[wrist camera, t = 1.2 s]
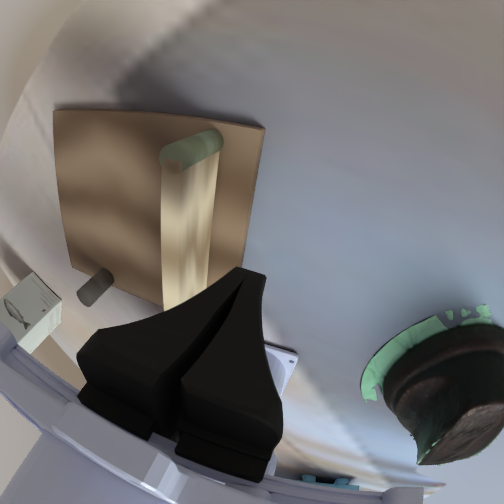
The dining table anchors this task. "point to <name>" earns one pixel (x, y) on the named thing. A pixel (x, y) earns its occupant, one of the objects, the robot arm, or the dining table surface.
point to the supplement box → (30, 312)
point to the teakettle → (337, 484)
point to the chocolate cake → (444, 385)
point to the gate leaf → (187, 213)
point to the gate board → (142, 195)
